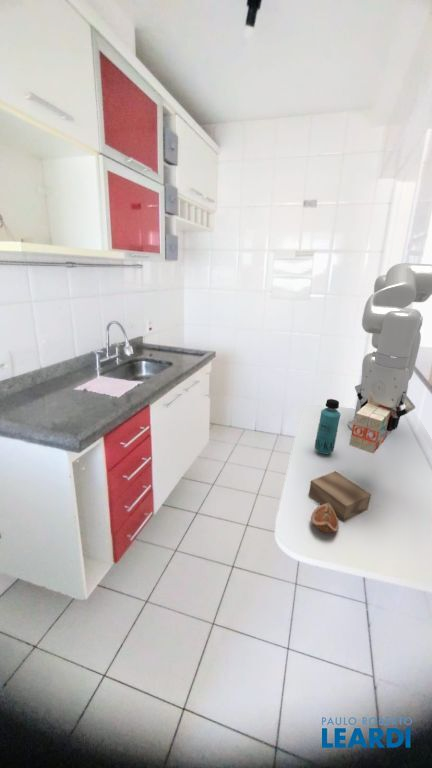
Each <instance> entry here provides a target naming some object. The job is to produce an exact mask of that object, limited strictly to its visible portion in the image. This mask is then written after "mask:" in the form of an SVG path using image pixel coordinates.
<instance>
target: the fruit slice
mask: <svg viewBox="0 0 432 768" xmlns="http://www.w3.org/2000/svg"><path fill="white" fill-rule="evenodd" d="M310 521H311V522H312V525H313V526H314V527H316V528H317V529H318V530H320V531H322V532H325V533H331V534H334V533H336V532H338V531H339V527H340V525H339V519H338V518H337V516H336V514H335V511H334V510H333V508H332V506H331V505H330V503H329V502H328V503H325V504H322V505H320V504H319V506H318V507H316V508H315V509H314V510H313V512H312V514H311V516H310Z"/></svg>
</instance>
